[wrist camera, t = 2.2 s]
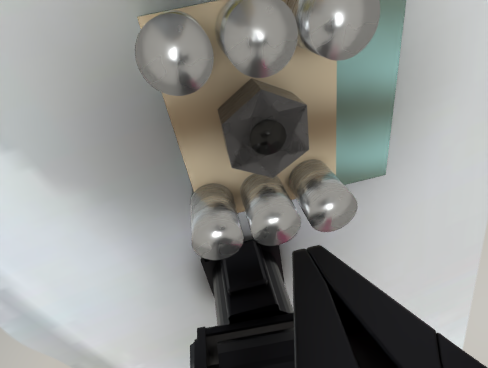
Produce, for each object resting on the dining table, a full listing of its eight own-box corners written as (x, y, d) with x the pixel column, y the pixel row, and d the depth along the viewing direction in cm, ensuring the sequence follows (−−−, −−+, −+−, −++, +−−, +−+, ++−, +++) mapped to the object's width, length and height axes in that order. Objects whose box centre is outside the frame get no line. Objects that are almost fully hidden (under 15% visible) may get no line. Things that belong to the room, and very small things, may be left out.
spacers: (335, 188, 22) (363, 223, 18) (196, 223, 21) (199, 265, 18) (337, -25, 14) (383, -32, 11) (126, 19, 14) (108, 25, 11)
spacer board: (379, 169, 23) (386, 176, 22) (202, 212, 22) (203, 221, 21) (401, -38, 15) (413, -40, 15) (139, 16, 15) (137, 17, 14)
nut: (296, 150, 19) (310, 169, 17) (230, 166, 19) (236, 187, 17) (290, 69, 16) (306, 79, 14) (212, 86, 16) (216, 100, 14)
